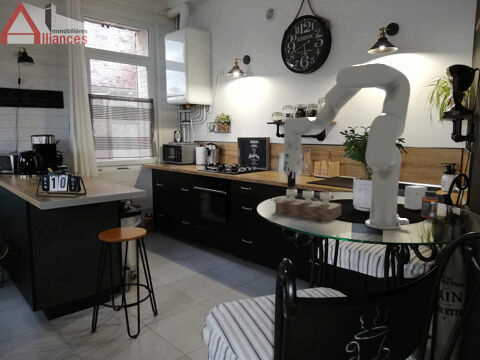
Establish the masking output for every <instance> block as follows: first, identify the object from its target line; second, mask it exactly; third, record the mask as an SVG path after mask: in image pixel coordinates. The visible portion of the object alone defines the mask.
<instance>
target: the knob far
mask: <svg viewBox="0 0 480 360" xmlns="http://www.w3.org/2000/svg"><path fill="white" fill-rule="evenodd" d="M286 196H287V197H288V198H289V202H295V199H296V198H295V197H296V196H298V190H297V189H296V188H287V189H286Z"/></svg>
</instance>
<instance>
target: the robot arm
mask: <svg viewBox="0 0 480 360" xmlns="http://www.w3.org/2000/svg"><path fill="white" fill-rule="evenodd" d="M335 82H336V83H335V84H334V86H333V87H332V88H331V89H330V90H329V91H328V92H326V94H325V95H324V105H323V107H322V108H321V110H319V112H318V113H317V114H316V115H315V116H314V117H313V116H311V117H310V116H304V117H299V118H298V117H287V118H286V119H285V120H284V127H283V128H284V130H283V131H284V135H283V136H284V137H283V150H284V152H283V161H282V162H283V164H282V170H283V172H285V173H284V174H285V175H286V178H287V184H286V185H287V187H288V188H295V187H296V179H297V174H298V173H299V172H300V171H302V167H303V166H302V165H303V161H302V159H303V158H302V135H303V136H311V135H312V136H316V135H320V134H321V133H322V132H324V130H325V129H327V128H328V127H329V126H330V125H331V124H332V123H333V121H335V120H336V118H337V116H338V114H339V113H340V111H341V109H343V107H345V105H347V103H349V101H351V100H352V98H353V97H355V96H356V95H357V94H358V93H359V92H360V91H361V90H362V89H369V88H370V89H371V88H377V89H380V90H382V91H384V92H385V95H384V96H385V97H384V100H383V102H382V110H381V114H379V115H377V116H376V117H375V118H374V119H373V120H372V121H371V124H370V127H369V131H368V137H367V142H366V143H367V144H366V150H365V163H366V164H367V166H368V167H369V168H370V169H371V170H372V174H371V177H372V184H371V203H370V202H369V204H370V209H369V219H367V220H365V225H366V226H367V227H369V228H373V229H378V230H385V231H386V230H391V231H392V230H398V229H400V228H401V226H402V225H405V226H409V224H410V220H409V219H407V218H401V217H400V216H399V214H398V197H399V184H400V183H399V182H400V181H399V179H400V172H401V165H402V153H401V150H400V149H399V147H397V146H396V144H397V140H398V139H399V138H400V137H402V135H403V134H404V132H405V128H406V121H407V115H408V108H409V103H410V102H409V101H410V97H411V96H410V95H411V84H410V81H409V79H408V77H407V76H406V74H404V73H403V72H402V71H400V70H398V69H396V68H395V67H393V66H391V65H389V64H387V63H385V62H370V63H363V64H354V65H347V66H344V67H342V68H341V69H339V71H338V73H336V77H335Z"/></svg>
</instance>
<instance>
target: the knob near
mask: <svg viewBox="0 0 480 360" xmlns="http://www.w3.org/2000/svg"><path fill="white" fill-rule="evenodd" d="M319 199H320V200H322V201H321V202H322V206H328V205H329V203H330V200H332V192H326V191H322V192H319Z"/></svg>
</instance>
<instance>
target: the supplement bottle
mask: <svg viewBox="0 0 480 360" xmlns="http://www.w3.org/2000/svg"><path fill="white" fill-rule="evenodd" d="M438 203H439V197H438V196H437V191H435V190H427V191H425V196H423V197H422V208H421V209H420V210H421V212H420V217H422V218H424V219H429V220H434V219H437V217H438V205H439V204H438Z"/></svg>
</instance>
